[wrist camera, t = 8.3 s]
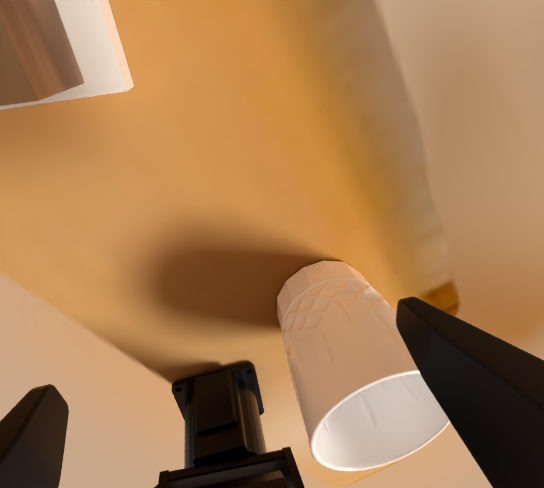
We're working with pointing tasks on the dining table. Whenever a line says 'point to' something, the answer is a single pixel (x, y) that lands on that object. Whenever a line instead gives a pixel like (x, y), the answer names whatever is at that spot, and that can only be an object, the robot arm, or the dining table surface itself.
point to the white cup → (353, 371)
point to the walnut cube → (34, 52)
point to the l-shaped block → (91, 51)
